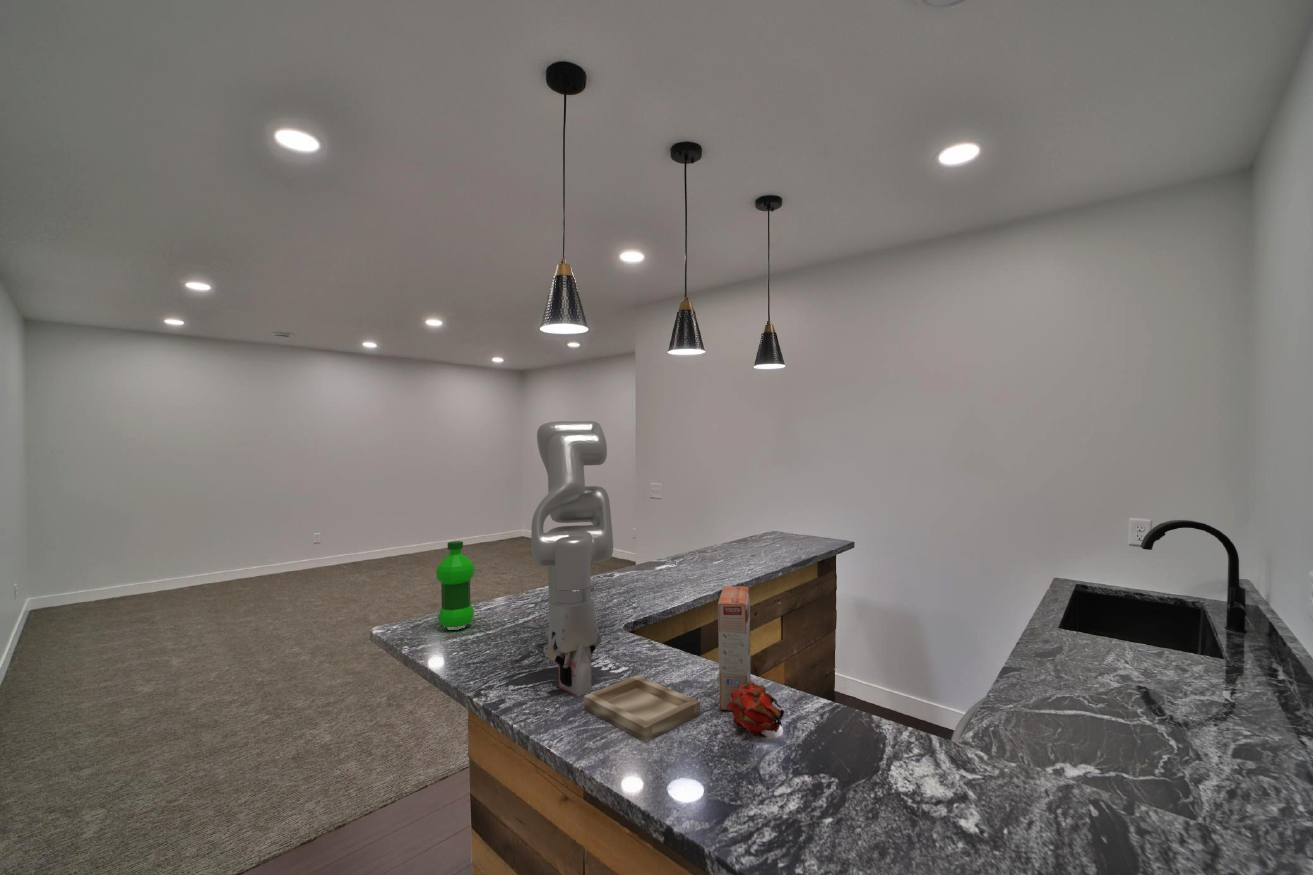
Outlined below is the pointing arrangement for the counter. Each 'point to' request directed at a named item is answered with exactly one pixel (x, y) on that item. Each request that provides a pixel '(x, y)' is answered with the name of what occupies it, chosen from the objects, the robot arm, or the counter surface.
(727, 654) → the cracker box
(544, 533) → the robot arm
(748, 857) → the counter surface
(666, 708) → the wooden tray
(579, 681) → the white cardboard box
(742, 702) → the dragon fruit
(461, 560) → the plastic bottle
